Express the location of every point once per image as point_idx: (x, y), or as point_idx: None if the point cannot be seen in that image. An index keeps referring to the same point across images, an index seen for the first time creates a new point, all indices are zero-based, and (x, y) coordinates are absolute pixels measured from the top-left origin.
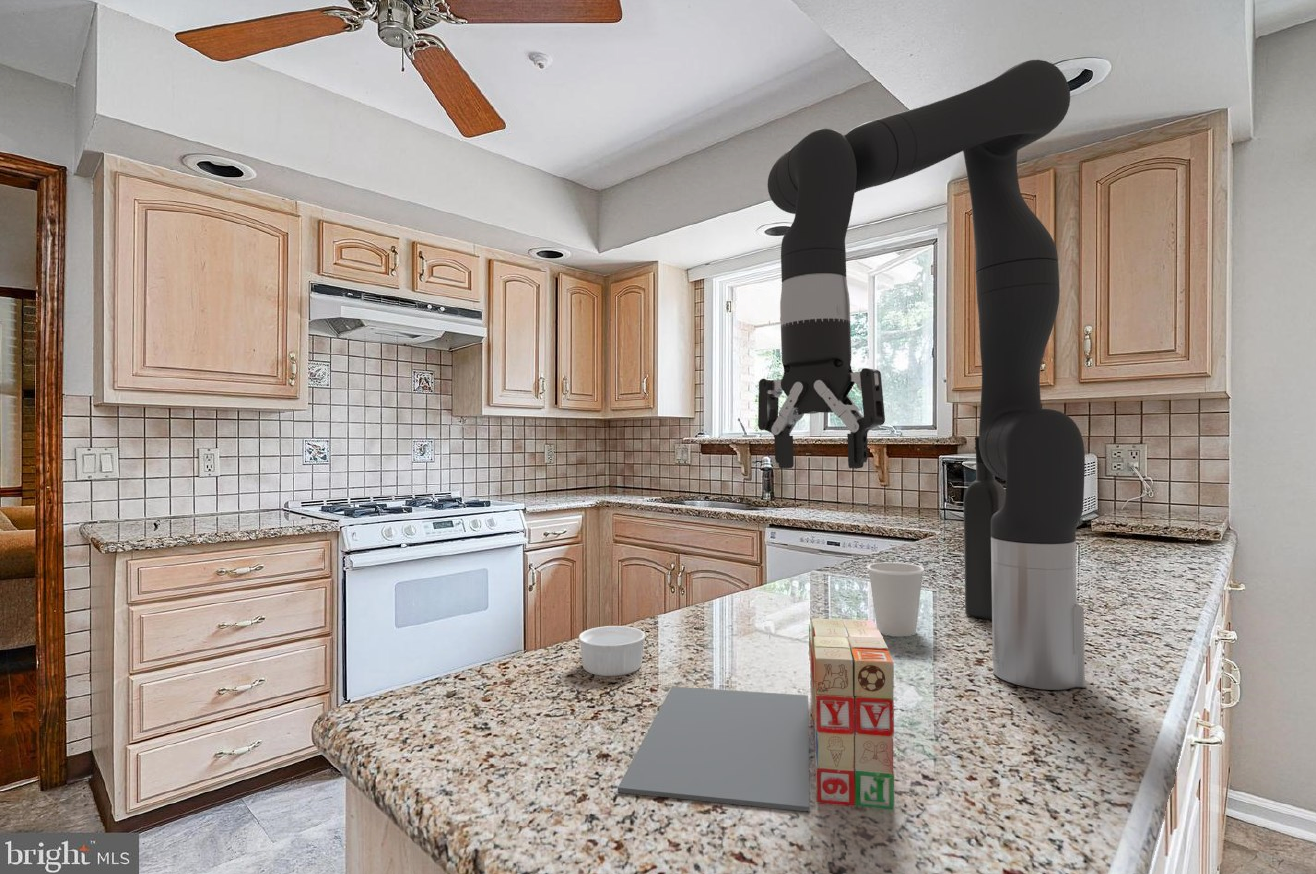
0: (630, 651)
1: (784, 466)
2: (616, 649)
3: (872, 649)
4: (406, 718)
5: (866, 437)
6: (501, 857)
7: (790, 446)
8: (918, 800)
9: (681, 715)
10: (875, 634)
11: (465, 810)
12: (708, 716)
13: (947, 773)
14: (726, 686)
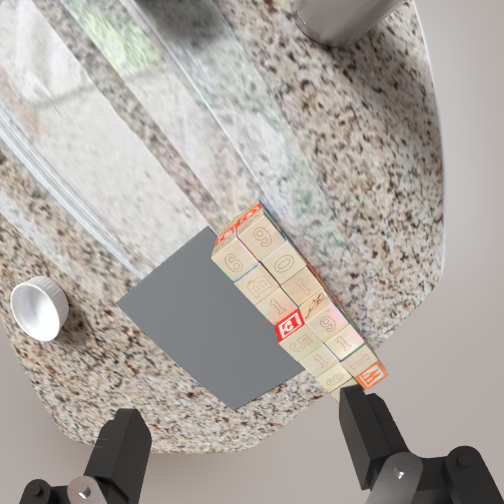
0: (60, 312)
1: (150, 438)
2: (60, 327)
3: (368, 367)
4: (87, 426)
5: (403, 445)
6: (244, 449)
7: (127, 460)
8: (360, 303)
9: (172, 336)
10: (355, 339)
11: (201, 447)
12: (186, 324)
13: (361, 260)
14: (135, 260)
